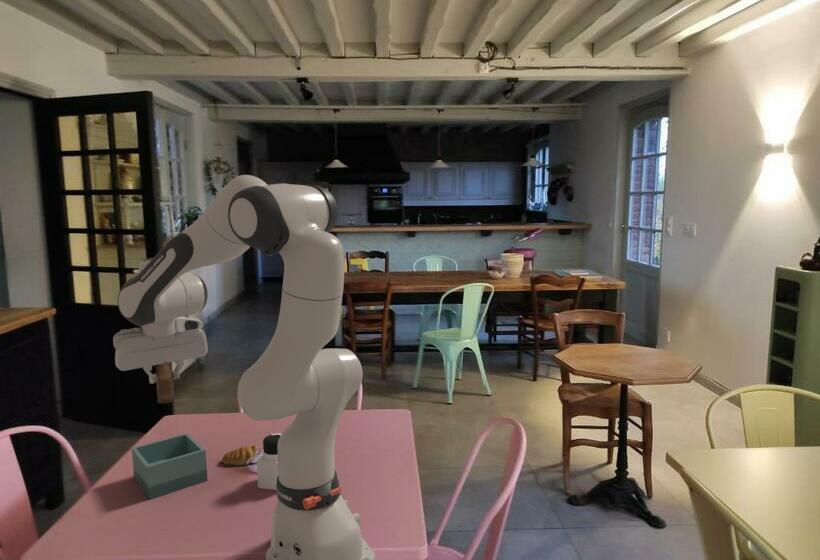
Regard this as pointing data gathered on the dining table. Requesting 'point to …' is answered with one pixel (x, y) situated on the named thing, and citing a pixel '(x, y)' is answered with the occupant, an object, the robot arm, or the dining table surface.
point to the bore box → (169, 465)
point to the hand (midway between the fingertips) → (164, 380)
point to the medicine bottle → (268, 463)
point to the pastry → (240, 455)
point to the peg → (165, 382)
